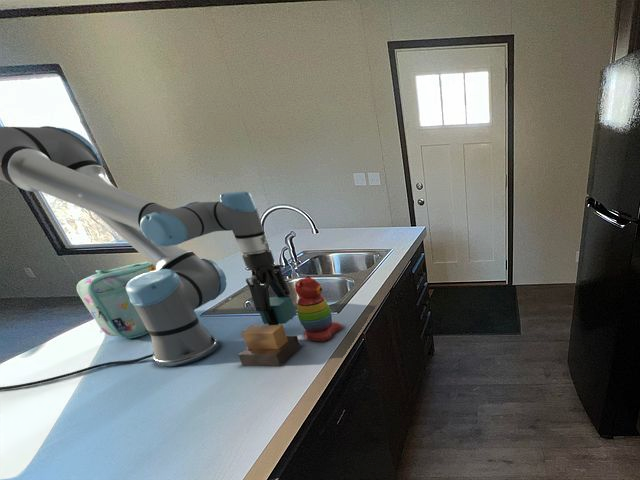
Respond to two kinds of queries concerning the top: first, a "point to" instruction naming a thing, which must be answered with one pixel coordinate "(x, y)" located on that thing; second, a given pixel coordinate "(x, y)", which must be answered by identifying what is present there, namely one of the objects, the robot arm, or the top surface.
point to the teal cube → (281, 309)
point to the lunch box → (114, 300)
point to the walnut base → (269, 354)
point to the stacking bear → (314, 311)
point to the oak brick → (265, 337)
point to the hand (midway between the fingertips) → (282, 323)
